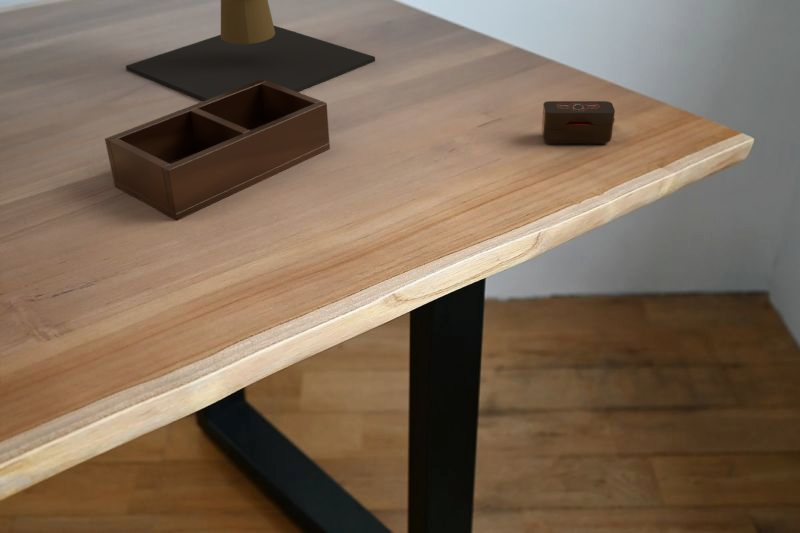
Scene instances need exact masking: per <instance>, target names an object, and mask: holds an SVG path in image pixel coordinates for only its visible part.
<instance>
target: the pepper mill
mask: <svg viewBox="0 0 800 533" xmlns="http://www.w3.org/2000/svg"><path fill="white" fill-rule="evenodd" d="M273 25H274V21H273V17H272V12H271V8H270V5H269V1H268V0H220V35H221V38H222V40H224V41H225V42H229V43H233V44H252V43H259V42H263V41H266V40H268V39H271V38H272V37H273V36H274V35H275V30H274V26H275V25H274V26H273Z"/></svg>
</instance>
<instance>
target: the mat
mask: <svg viewBox="0 0 800 533" xmlns="http://www.w3.org/2000/svg"><path fill="white" fill-rule="evenodd" d="M273 26H274V30H275V35H274V36H273V37H272V38H271V39H268V40H266V41H263V42H259V43H252V44H233V43H229V42H225V41H224V40H222V38H221V34H218V35H214V36H213V37H210V38H209V37H208V38H205V39H202V40H200V41H198V42H194V43H190V44H188V45H186V46H181V47H178V48H175V49H174V50H170V51H166V52H164V53H160V54H158V55H154V56H151V57H148V58H145V59H142V60H139V61H136V62H132V63H130V64H126V65H125V69H126V71H129V72H131V73H134V74H136V75H138V76H141V77H143V78H145V79H147V80H151V81H153V82H156V83H158V84H160V85H163V86H165V87H168V88H170V89H172V90H174V91H178V92H180V93H182V94H184V95H187V96H190V97H192V98H195V99H197V100H199V101H201V102H203V101H205V100H208V99H211V98H213V97H216V96H219V95H221V94H224V93H227V92H229V91H232V90H234V89H237V88H240V87H242V86H245V85H248V84H250V83H253V82H256V81H258V80H261V79H262V80H265V81H268V82H271V83H274V84H277V85H279V86H282V87H285V88H287V89H290V90H293V91H296V92H298V93H300V92H301V91H303V90H306V89H309V88H311V87H313V86H317V85H319V84H321V83H324V82H326V81H329V80H331V79H333V78H337V77H339V76H341V75H343V74H346V73H348V72H351V71H353V70H355V69H358V68H361V67H363V66H366V65H368V64H370V63H373V62H376V56H374V55H371V54H367V53H365V52H362V51H357V50H355V49H351V48H348V47H345V46H342V45H339V44H335V43H332V42H329V41H325V40H322V39H319V38H316V37H313V36H309V35H306V34H303V33H300V32H296V31H293V30H290V29H287V28H284V27H281V26H277V25H274V24H273Z"/></svg>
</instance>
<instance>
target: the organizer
mask: <svg viewBox="0 0 800 533" xmlns="http://www.w3.org/2000/svg"><path fill="white" fill-rule="evenodd" d="M328 116H329V115H328V103H327V102H325V101H322V100H320V99H318V98H315V97H312V96H309V95H306V94H304V93H301V92H296V91H293V90H290V89H287V88H285V87H282V86H279V85H277V84H274V83H271V82H268V81H265V80H262V79H261V80H258V81H256V82H253V83H250V84H248V85H245V86H242V87H240V88H237V89H234V90H232V91H229V92H227V93H224V94H221V95H219V96H216V97H213V98H211V99H208V100H205V101H201V102H198V103H195V104H192V105H190V106H187V107H184V108H182V109H179V110H176V111H174V112H171V113H169V114H166V115H163V116H160V117H158V118H155V119H153V120H150V121H148V122H145V123H142V124H139V125H137V126H134V127H132V128H129V129H127V130H124V131H122V132H121V131H120V132H119V133H116V134H113V135H111V136H108V137H106V138H104V144H105V146H106V151H107V156H108V160H109V166H110V170H111V175H112V179H113V185H114V187H115V188H117V189H119V190H121V191H123V192H124V193H126V194H127V195H130V196H132V197H133V198H136V199H137V200H139V201H141V202H142V203H145V204H146V205H148V206H150V207H152V208H154V209H156V211H157V210H158V211H160V213H163V214H164V215H167V216H169V217H170V218H172V219H174V220H176V221H178V220H181V219H183V218H186V217H187V216H189V215H191V214H193V213H195V212H198V211H200V210H202V209H205V208H206V207H209V206H211V205H213V204H215V203H217V202H220V201H221V200H223V199H226V198H227V197H230V196H232V195H234V194H236V193H238V192H240V191H242V190H245V189H247V188H249V187H251V186H254V185H255V184H257V183H260V182H262V181H264V180H266V179H268V178H271V177H273V176H274V175H276V174H278V173H281V172H283V171H285V170H287V169H290V168H292V167H294V166H296V165H298V164H300V163H303V162H304V161H307V160H309V159H311V158H313V157H314V156H317V155H320V154H321V153H324V152H325V151H328V150H330V149H331V143H330V130H329V117H328Z"/></svg>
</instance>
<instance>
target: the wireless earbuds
mask: <svg viewBox="0 0 800 533" xmlns="http://www.w3.org/2000/svg"><path fill="white" fill-rule="evenodd" d="M615 113H616V110H615V107H614V105H613V103H612V102H611V101H607V100H552V101H551V100H549V101H548V100H547V101H545V102H543V106H542V119H541V134H542V139H543V141H544V142H545V143H546V144H608V143H610V142H611V140H612V138H613V131H614V130H613V129H614V123H615V115H616V114H615Z"/></svg>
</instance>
